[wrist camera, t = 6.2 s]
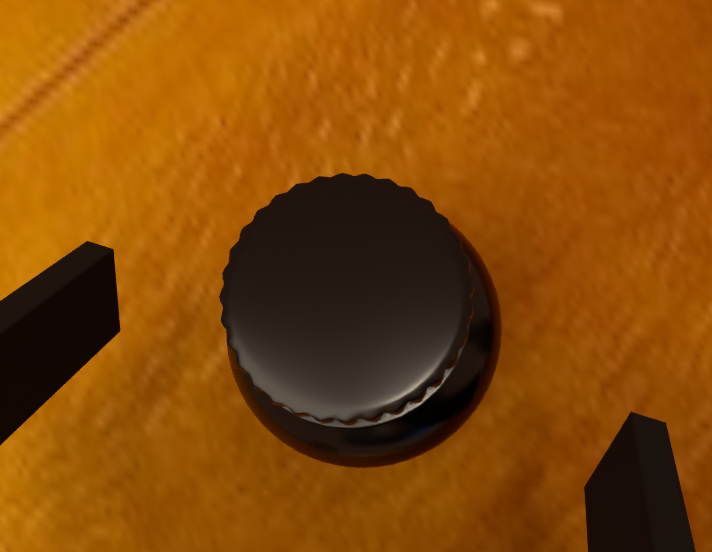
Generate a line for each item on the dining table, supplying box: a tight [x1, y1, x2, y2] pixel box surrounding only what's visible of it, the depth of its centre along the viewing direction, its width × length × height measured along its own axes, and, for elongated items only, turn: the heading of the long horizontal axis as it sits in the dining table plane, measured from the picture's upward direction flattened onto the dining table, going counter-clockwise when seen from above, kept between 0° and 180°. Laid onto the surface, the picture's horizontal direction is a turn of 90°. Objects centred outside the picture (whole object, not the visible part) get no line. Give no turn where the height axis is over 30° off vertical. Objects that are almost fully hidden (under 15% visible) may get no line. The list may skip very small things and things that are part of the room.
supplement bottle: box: [219, 173, 502, 468], centre depth 16 cm, size 7×7×12 cm
